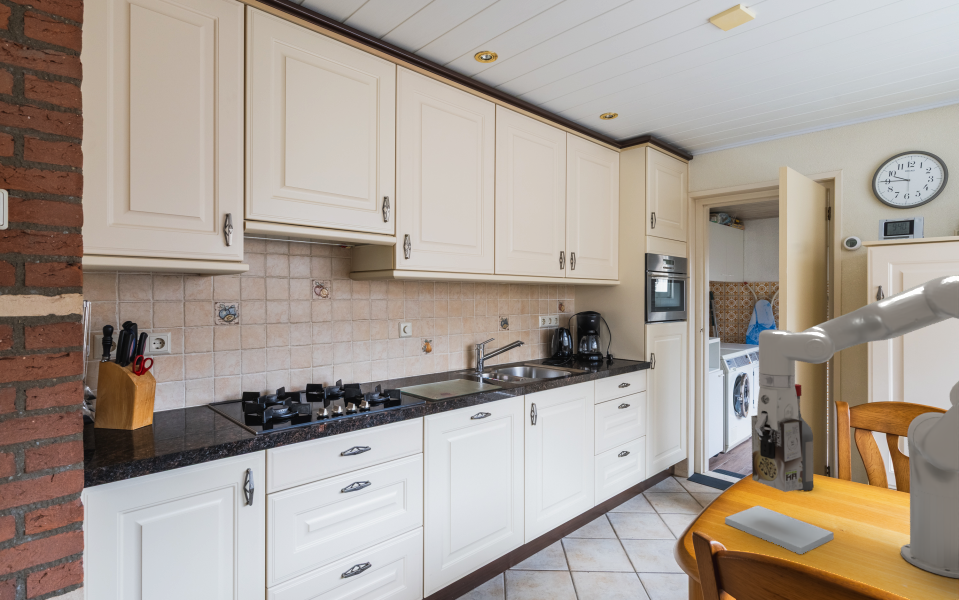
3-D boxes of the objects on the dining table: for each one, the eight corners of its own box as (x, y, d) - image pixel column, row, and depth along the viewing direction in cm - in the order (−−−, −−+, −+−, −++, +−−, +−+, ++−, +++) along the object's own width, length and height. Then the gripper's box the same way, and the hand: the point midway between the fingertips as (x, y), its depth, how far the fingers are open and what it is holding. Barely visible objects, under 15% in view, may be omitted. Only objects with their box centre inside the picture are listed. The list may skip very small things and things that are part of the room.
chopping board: (833, 538, 118) (833, 532, 118) (800, 554, 111) (800, 548, 111) (758, 510, 134) (758, 505, 134) (725, 523, 127) (725, 517, 127)
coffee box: (804, 488, 120) (804, 420, 120) (784, 492, 117) (784, 423, 117) (769, 476, 128) (769, 412, 128) (750, 479, 126) (750, 414, 126)
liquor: (812, 482, 154) (811, 383, 153) (813, 492, 146) (813, 388, 145) (777, 477, 158) (776, 381, 158) (776, 487, 150) (776, 385, 150)
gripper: (771, 387, 115) (771, 465, 115) (812, 380, 124) (812, 453, 124) (740, 382, 121) (740, 456, 121) (781, 375, 130) (781, 445, 130)
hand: (776, 454), depth 123 cm, fingers closed on coffee box, 7 cm apart
